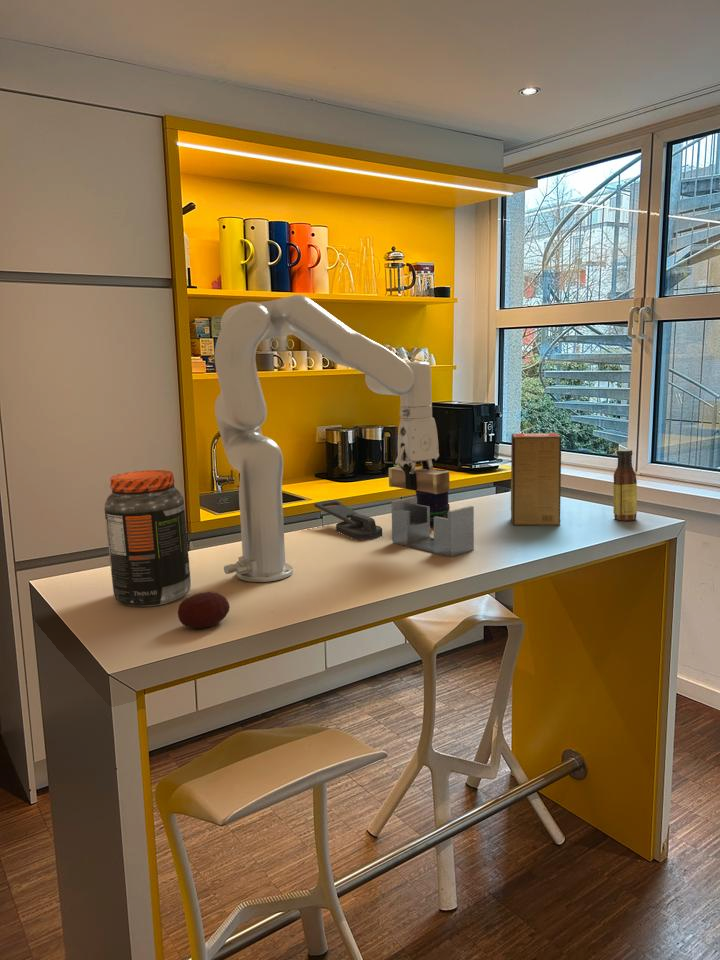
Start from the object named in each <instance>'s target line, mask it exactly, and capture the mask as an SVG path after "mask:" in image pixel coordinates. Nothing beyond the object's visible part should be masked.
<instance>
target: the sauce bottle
mask: <svg viewBox="0 0 720 960" xmlns="http://www.w3.org/2000/svg"><path fill="white" fill-rule="evenodd" d="M616 456H617V467H616V469H615V470H614V472H613V485H612V487H613V515H614V516H613V517H614V519H615V520H617V521H622V522H623V521H624V522H630V521H631V522H632V521H634V520H636V519H637V514H638V501H637V500H638V495H637V494H638V491H637V489H638V485H637V483H638V482H637V475H636V472H635V471H634V468H633V463H632V461H633V460H632V459H633V458H632V457H633V449H629V448H627V449H625V448H622V449H617V450H616Z"/></svg>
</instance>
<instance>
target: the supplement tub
mask: <svg viewBox="0 0 720 960" xmlns="http://www.w3.org/2000/svg"><path fill="white" fill-rule="evenodd" d="M109 481H110V485H109V486H110V488H111V489H110V490H111V493H110V494H109V496H108V497H107V498H106V500H105V503H104V518H105V525H106V526H105V527H106V528H105V529H106V535H107V544H108V554H109V565H110V572H111V583H112V591H113V597H114V599H115V600H116V601H117V602H118V603H120V604H122V605H126V606H131V607H155V606H156V607H157V606H161V605H165V604H169V603H172V602H175V601H176V600H179V599H181V598H182V597H184V596H185V595H186V596H187V594H189V592H190V590H191V587H192V585H191V584H192V583H191V571H190V570H191V568H190V557H189V556H190V555H189V546H188V544H189V543H188V535H187V522H186V509H185V500H184V497H183V494H182V493H181V491H179V490H178V489H177V488H176V485H175V477H174V472H172V471H170V470H164V469H163V470H162V469H153V470H152V469H148V470H138V471H137V470H136V471H128V472H123V473H118V474H115V475H113V476H111V477H110V479H109Z"/></svg>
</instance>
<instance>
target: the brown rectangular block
mask: <svg viewBox="0 0 720 960" xmlns="http://www.w3.org/2000/svg"><path fill="white" fill-rule="evenodd" d="M414 474H416V485H417V489H416V490H417V491H423V492H429V493H433V494H439V493H443V492H447V491H449V492H450V488H451V487H450V471H449V472H448V470H447V471H445V472H444V471H436V470H429V469H422V467H421V468H419V467H415V472H414ZM388 487H391V488H400V489H406V481H405V473H403V470H402V469H401V468H400V466H398V465H397V466H393V467H388ZM406 490H407V489H406Z"/></svg>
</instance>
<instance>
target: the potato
mask: <svg viewBox="0 0 720 960" xmlns="http://www.w3.org/2000/svg"><path fill="white" fill-rule="evenodd" d="M230 607H231V606H230V603H229V601H228V599H227V598H226V597H225V596H224V595H222V594H220V593H219V592H212V591H207V592H206V591H205V592H200V593H196V594H192V595H190V596H187V597H185V599H183V600H182V601H181V602H180V603H179V605H178V609H177V615H178V619H179V621H180V623H181V624H182V625H183V626H185V627H186V628H190V629H204V628H209V627H212V626H214V625H216V624H218V623H219V622H221V621H222V620H224V618H226V617H227V615H228V614H229V612H230Z"/></svg>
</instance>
